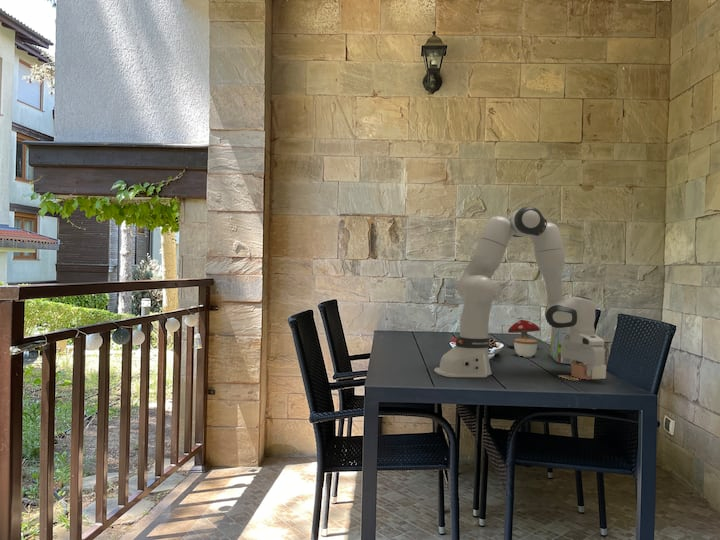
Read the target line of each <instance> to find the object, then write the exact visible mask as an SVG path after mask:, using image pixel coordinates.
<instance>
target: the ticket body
mask: <svg viewBox="0 0 720 540" xmlns="http://www.w3.org/2000/svg"><path fill="white" fill-rule="evenodd" d="M580 363H581V364H584V365H587V364H586V363H582V362H580ZM606 378H607V365H605V364H603V365H602V366H594V367H593V369H592V371H591V379H590V380H601V379H603V380H605V379H606Z"/></svg>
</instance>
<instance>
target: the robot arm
mask: <svg viewBox="0 0 720 540" xmlns="http://www.w3.org/2000/svg"><path fill="white" fill-rule="evenodd" d="M512 237H514V238H523V237H529V239H530V240H531V242H532V244H533V251H534V259H535V261H536V264H537V267H538V270H539V272H540V274H541V275H542V278H543V280H544V283H545V291H546V297H547V304H546V307H545V311H544V318H545V319H546V322H547V323H548V324H549V326H551V328H552V327H554V328H564V327H570V335H566V336H565V337H564V341H563V344H562V351H561V354H562V357H564V358H568V359H570V364H569V365H571V367H572V364H576V363H577V362H579V363H586V364H587V370H585V375H587V376H591V371H592V369H593V367H594V366H602V365H605V364H604V363H605V348H604V345H605V340H604V339H603V338H602V337H600V336H599V335H597V334H596V329H595V321H596V305H595V302H594V301H593V299H592V298H590V297H587V296H582V295H574V296H572V297H570V298H568V299H565V298H564V290H563V284H562V277H563V275H562V274H563V271H564V267H565V257H566V256H565V248H564V242H563V239H562V235H561V231H560V229H559V226H557V224H556V223H553V222H547V220H546V218H545V217H544V216H543V214H542V213H541V211H540V210H539V209H537V208H536V207H533V206H524V207H521V208H518V209H517V210H515V211H513V212H511V213H510V214H509V215H508V216H506V217H504V216H501V215H499V216H497V215H496V216H493V217H491V218H489V220H488V222H487V223H486V225H485V226H484V228H483V231H482V232H481V235H480V237H479V239H478V242H477V244H476V247H475V249H474V253H473V255H472V256H471V259H470V261H469V262H468V264H467V266H466V268H465V269H464V270H463V273H462V275H461V277H460V278H459V280H457V282H456V291H457V294H458V296H460V298H461V299H463V300H464V303H463V308H462V312H461V315H460V320H459V321H460V325H459V336H458V337H454V336H451V338H450V341H451V342H452V343H455V346H453V347H452V348H451V349H450V350H448V351H447V352H446V353H444V354H443V355H442V357H441V359H440V362H439V367H435V368H434V369H433V371H434V372H435V374H437V375H439V376H443V377H446V378H487V377H488V376H490V375H492V374H493V373H492V370H491V366H490V357H489V356H490V355H489V350H490V337H489V327H490V326H489V323H490V315H491V309H492V305H493V300H494V297H495V296H496V293H497V287H496V284H495V282H494V281H493V280H492V277H493V275H494V274H495V273H496V271H497V270H498V269H499V267H500V266H501V262H502V260H503V258H504V256H505V252H506V250H507V247H508V245H509V242H510V240H511V238H512ZM575 362H576V363H575Z"/></svg>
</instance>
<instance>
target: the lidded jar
mask: <svg viewBox="0 0 720 540" xmlns="http://www.w3.org/2000/svg"><path fill="white" fill-rule="evenodd" d="M513 342H514V343H513V345H514V351H515V353H516V354H517V355H518V357H520V356H523V357H522V358H532V357H533V356H534V355H535V354H536V353H537V349H538V340H537V339H532V338H529V339H527V337H525V339H522V338H514V339H513Z"/></svg>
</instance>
